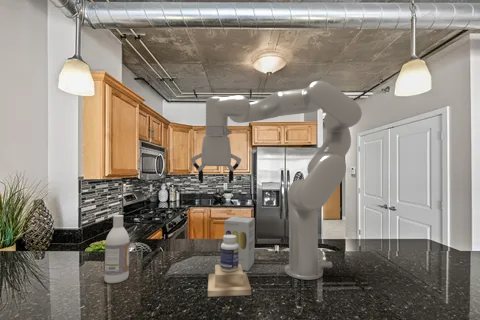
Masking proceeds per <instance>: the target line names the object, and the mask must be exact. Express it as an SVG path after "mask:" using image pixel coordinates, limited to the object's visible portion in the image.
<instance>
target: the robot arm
mask: <svg viewBox="0 0 480 320" xmlns="http://www.w3.org/2000/svg"><path fill="white" fill-rule="evenodd" d="M319 110H322V111H323V112H325V115H324V118H323V124H324V127H325V130H326V138H325V140H324V141H323V143H322V145H321V146H320V147H319V149H318V150H317V152H316V153H315V154H314V155H313V157H312V158H311V160H310V161H309V162H308V164H307V169H306V170H307V175H306V177H305V178H303V179H302V178H301V179H297V180H295V181H292V182H291V184H290V186H289V187H288V190H287V204H288V205H287V206H288V224H289V225H288V230H289V231H288V234H289V235H288V247H289V248H288V249H289V250H288V251H289V254H288V255H289V259H288V260H289V262H288V263H289V264H287V265H285V266H284V272H285V274H286V275H287V276H289V277H291V278H295V279H298V280H306V281H311V280H318V279H320V278H322V276H323V274H324V271H323V269H324V268H326V269H327V268H329V269H331V268H333V262H332V261H325V260H326V259H321V260H320V259H319V251H318V250H319V244H318V243H319V239H318V238H319V237H318V236H319V232H318V231H319V227H318V223H319V222H318V221H319V219H318V210H319V209H321V208H323V206H325V204H326V203H327V202H328V201H329V200H330V198H331V197H332V195H333V194H334V192H335V191H336V189H337V188H338V187H339V186H340V184H341V182H342V181H343V179H344V178H345V176H346V173H347V164H346V162H345V159H344V158H345V157H346V155H347V154H348V152H349V150H350V148H351V146H352V136H351V131H350V128H351V127H354V126H355V125H357V124H358V123H359V122H360V120H361V119H362V114H363V112H362V108H361V107H360V105H359V104H358V102H357V101H356V100H354V99H353V98H351V97H350V96H348V95H347V94H346V93H345V92H342V91H341V90H339V89H338V88H337V87H335V86H334V85H332V84H331V83H328V82H326V81H324V80H315V81H312V82H311V83H309V85H307V87H305V88H298V89H296V88H295V89H289V90H287V89H286V90H281V91H280V90H279V91H276V92H273V93H271V94H270V95H268V96H266V97H264V98H262V99H259V100H257V101H251V102H250V101H249V99H248V98H247V97H246V96H244V95H241V94H240V95H231V96H224V97H223V96H216V95H215V96H210V97H208V98H207V99H206V101H205V136H203V138H202V145H201V153H199V154H197V155H195V156H193V157H191V158H190V162H191V164H192V166H193V167H194V168H195V169H196V170H197V171H198V181H200V184H203V183H204V171H203V169H204V168H205V167H227V168H228V169H229V172H228V183H229V184H232V181H234V171H235V170H236V169H237V168H238V167H239V166H240V164H241V162H242V158H240V157H238V156H237V155H234V153H232V148H231V141H230V137H229V135H233V134H232V130H230V129H228V123H229V122H228V121H229V120H228V118H229V119H230V120H231V121H232V122H234V123H237V124H243V123H253V122H259V121H265V120H269V119H274V118H278V117H284V116H285V117H286V116H292V115H300V114H307V113H314V112H318V111H319ZM199 159H200V162H201V164H200V165H199V164H198V163H197V162H196V161H197V160H199ZM232 160H234V161H236V162H235V164H234V165H233V166H232V165H231V162H232Z"/></svg>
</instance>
